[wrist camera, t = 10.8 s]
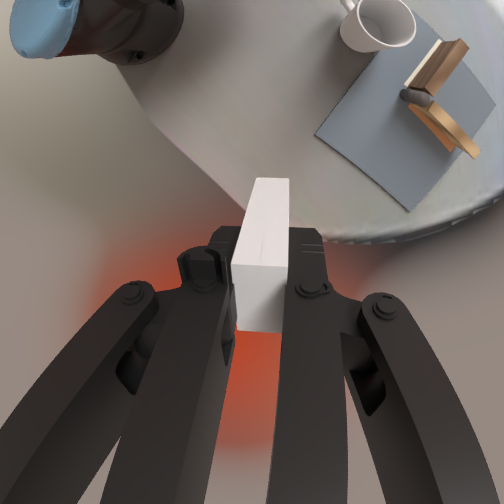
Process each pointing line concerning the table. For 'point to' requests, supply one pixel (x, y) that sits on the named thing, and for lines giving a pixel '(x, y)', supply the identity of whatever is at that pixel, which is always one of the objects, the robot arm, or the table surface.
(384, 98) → the card
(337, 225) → the table surface
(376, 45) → the mug
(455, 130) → the wooden board
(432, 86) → the base
